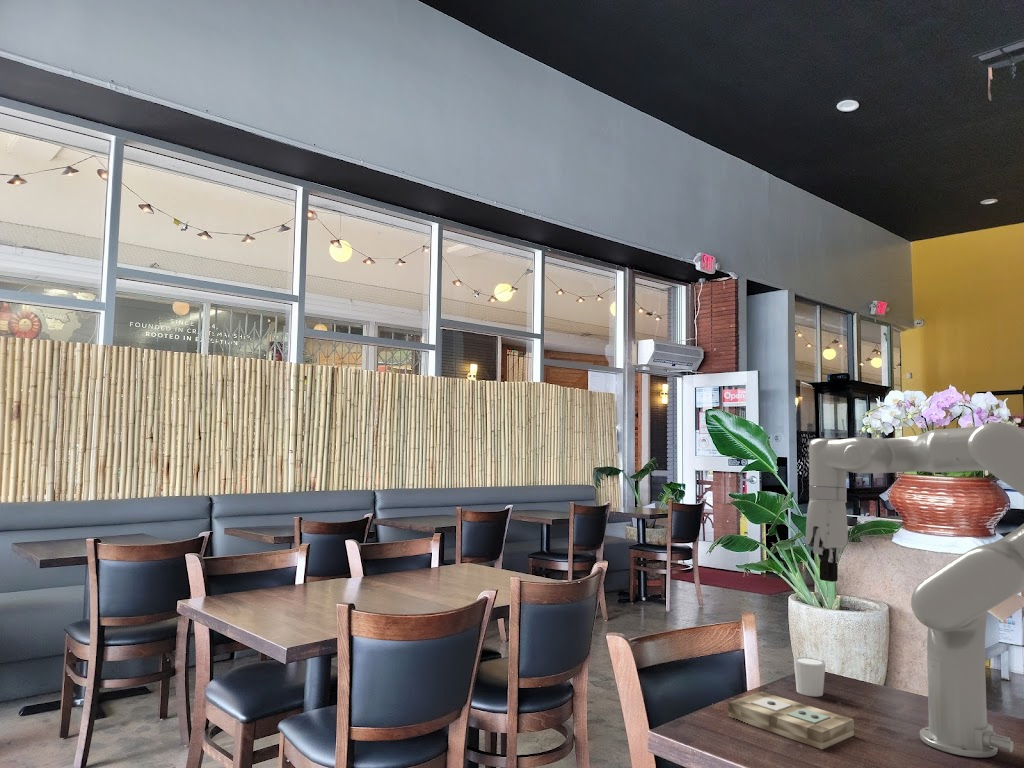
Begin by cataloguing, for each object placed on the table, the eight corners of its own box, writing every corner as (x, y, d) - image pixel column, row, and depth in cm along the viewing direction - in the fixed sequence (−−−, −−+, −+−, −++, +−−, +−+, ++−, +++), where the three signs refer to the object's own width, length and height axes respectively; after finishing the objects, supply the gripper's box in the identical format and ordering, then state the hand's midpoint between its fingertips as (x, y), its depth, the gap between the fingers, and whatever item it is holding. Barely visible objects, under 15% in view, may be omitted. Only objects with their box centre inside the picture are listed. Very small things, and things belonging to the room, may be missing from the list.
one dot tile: (791, 716, 149) (791, 703, 149) (776, 721, 145) (776, 709, 146) (766, 708, 153) (766, 696, 153) (751, 713, 150) (751, 701, 150)
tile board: (853, 735, 142) (853, 719, 142) (822, 749, 135) (822, 732, 135) (761, 705, 158) (761, 691, 158) (728, 717, 150) (728, 701, 150)
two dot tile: (829, 728, 143) (829, 715, 143) (814, 734, 139) (814, 721, 139) (802, 719, 147) (802, 707, 147) (787, 725, 143) (787, 712, 144)
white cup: (828, 698, 164) (828, 666, 165) (796, 695, 165) (796, 663, 166) (822, 689, 171) (822, 658, 171) (791, 686, 172) (791, 655, 173)
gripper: (828, 493, 168) (829, 575, 166) (793, 494, 159) (794, 580, 157) (861, 495, 162) (862, 580, 160) (827, 496, 153) (827, 586, 151)
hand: (828, 580), depth 159 cm, fingers closed
